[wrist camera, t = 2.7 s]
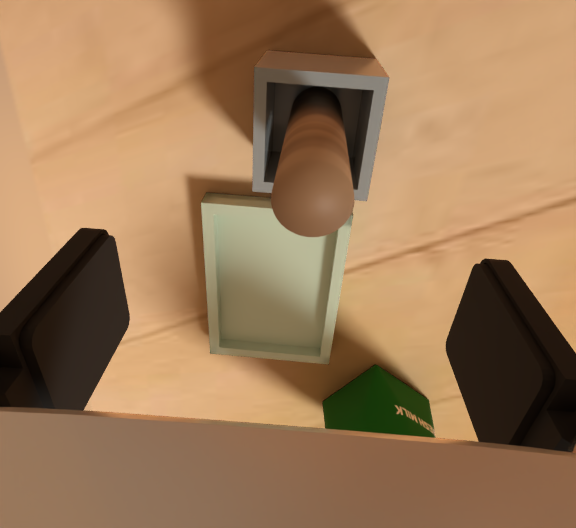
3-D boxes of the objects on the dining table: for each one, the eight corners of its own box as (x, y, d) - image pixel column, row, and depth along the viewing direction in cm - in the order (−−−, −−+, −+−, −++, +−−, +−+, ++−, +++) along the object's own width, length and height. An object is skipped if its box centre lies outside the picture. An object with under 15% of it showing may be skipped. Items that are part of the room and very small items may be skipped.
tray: (206, 192, 29) (200, 202, 28) (351, 204, 29) (353, 215, 28) (214, 340, 37) (210, 353, 36) (328, 350, 37) (328, 364, 36)
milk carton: (443, 399, 39) (530, 704, 23) (372, 440, 44) (403, 723, 27) (375, 352, 37) (420, 661, 20) (307, 401, 41) (297, 690, 24)
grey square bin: (266, 50, 24) (254, 67, 19) (376, 58, 24) (389, 77, 19) (263, 156, 28) (252, 191, 23) (359, 164, 27) (367, 201, 23)
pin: (292, 84, 24) (272, 157, 14) (345, 88, 24) (360, 164, 14) (289, 136, 26) (269, 233, 16) (338, 140, 26) (348, 240, 16)
